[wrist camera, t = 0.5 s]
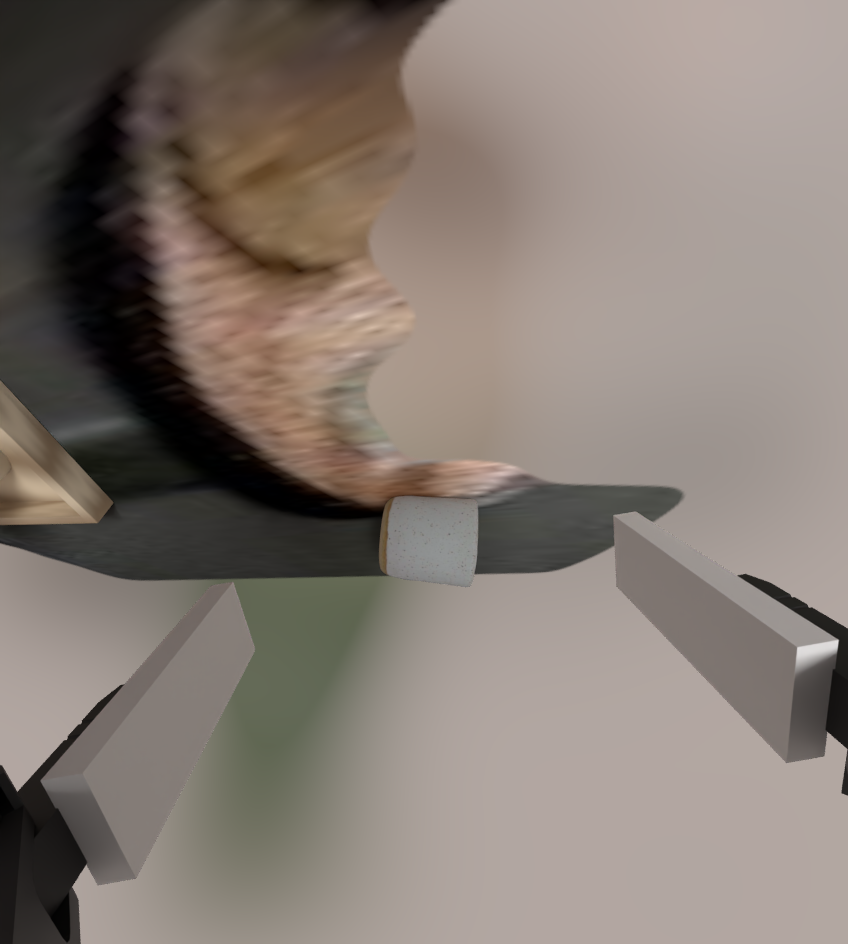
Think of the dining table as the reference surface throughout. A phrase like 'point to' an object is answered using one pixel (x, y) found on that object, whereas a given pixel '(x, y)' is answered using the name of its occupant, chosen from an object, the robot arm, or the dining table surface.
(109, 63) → the dining table surface
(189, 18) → the dining table surface
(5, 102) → the dining table surface
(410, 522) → the ceramic mug
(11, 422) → the bay tray
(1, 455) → the domed white canister
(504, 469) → the dining table surface
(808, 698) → the robot arm
